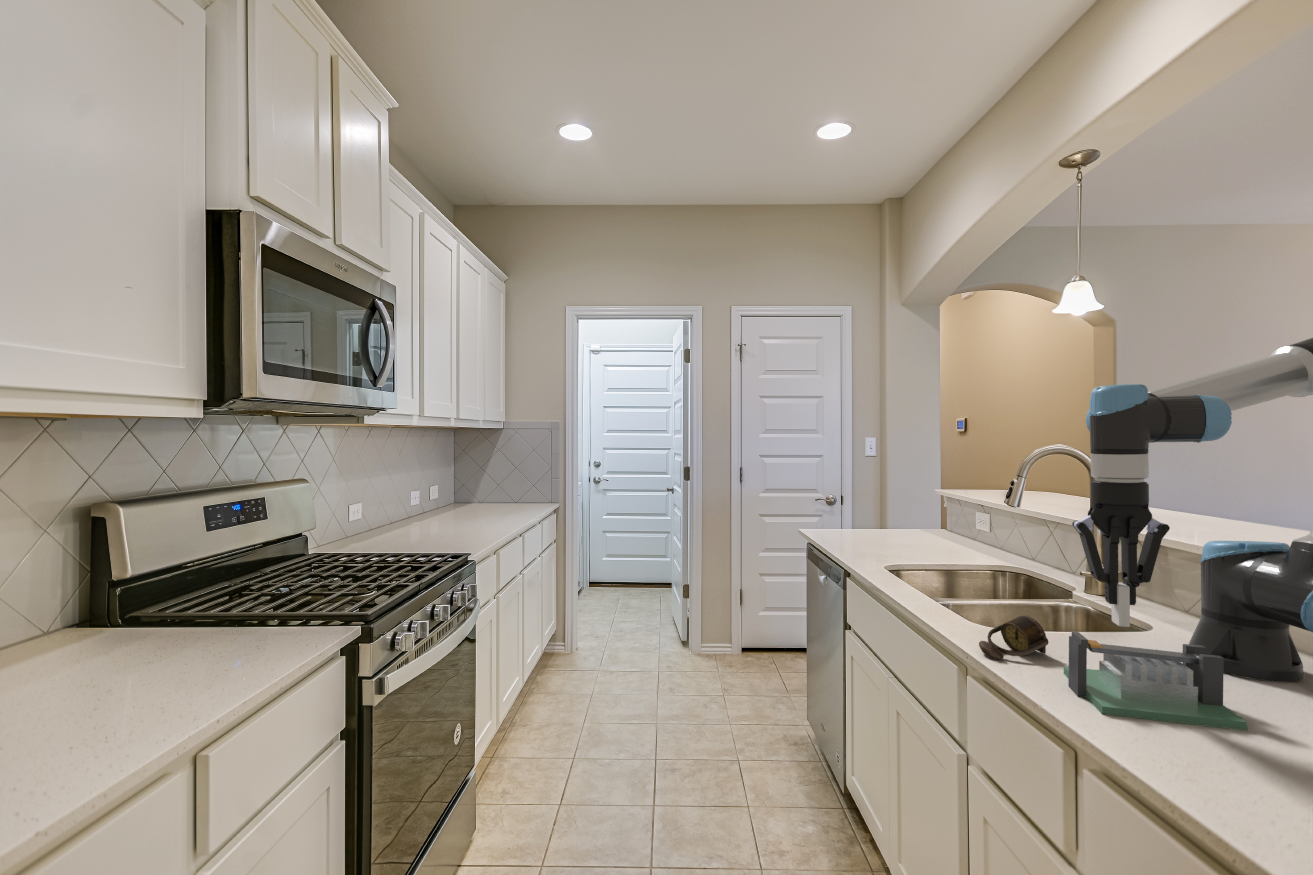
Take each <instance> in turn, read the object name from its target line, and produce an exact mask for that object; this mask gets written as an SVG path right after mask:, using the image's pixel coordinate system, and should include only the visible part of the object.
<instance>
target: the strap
mask: <svg viewBox="0 0 1313 875" xmlns="http://www.w3.org/2000/svg"><path fill="white" fill-rule="evenodd" d="M1087 650H1089V651H1090V652H1091V653H1096V654H1103V655H1104V654H1113V655H1122V656H1131V657H1140V658H1149V659H1157V660H1166V661H1175V662H1181V663H1183V662H1184V663H1193V664H1199V655H1197V654H1195V653H1192V654H1189V653H1183V652H1178V651H1171V650H1170V651H1169V650H1161V649H1153V648H1152V649H1151V648H1141V647H1133V646H1125V645H1114V644H1105V643H1099V641H1097V640H1094V639H1088V645H1087Z"/></svg>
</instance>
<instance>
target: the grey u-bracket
mask: <svg viewBox="0 0 1313 875" xmlns="http://www.w3.org/2000/svg"><path fill="white" fill-rule="evenodd" d="M1182 653H1189V654H1192V653H1195V654H1197V655H1199V664H1193V663H1184V662H1181V663H1182V664H1184V665H1185V666H1187V667H1188V668H1190V669H1191V670H1193V684H1194V685H1196V686H1197V687H1198V701H1199V702H1200V703H1202V704H1207V705H1217V706H1223V705H1224V674H1225V672H1224V658H1223V657H1221V656H1216V655H1206V648H1205V647H1204V646H1202V645H1190V644H1189V643H1187V644H1186V643H1182Z"/></svg>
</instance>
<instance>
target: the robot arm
mask: <svg viewBox="0 0 1313 875" xmlns="http://www.w3.org/2000/svg"><path fill="white" fill-rule="evenodd" d="M1312 395H1313V337H1311V338H1310V337H1309V338H1307V339H1304V340H1302V341H1298V342H1296V343H1295V342H1294V343H1292V344H1290V345H1286V346H1282V347H1279V348H1277V349H1275V350H1274V351H1273V352H1271V354H1270V355H1269V356H1267V357H1265V358H1261V359H1256V360H1254V361H1250V362H1246V363H1243V364H1239V365H1235V366H1233V367H1232V366H1231V367H1229V368H1226V369H1225V368H1224V369H1222V370H1218V371H1215V372H1212V373H1208V374H1204V375H1201V376H1197V377H1194V378H1190V379H1188V380H1184V381H1183V380H1182V381H1180V382H1176V383H1173V384H1169V385H1167V386H1166V385H1165V386H1162V387H1158V388H1155V389H1152V390H1148V387H1147V385H1145V384H1142V383H1141V384H1137V383H1136V384H1133V383H1130V384H1111V385H1110V384H1109V385H1100V386H1096V387H1094V388H1093V389H1092V390H1091V392H1090V397H1089V408H1088V409H1089V410H1087V413H1086V416H1085V424H1086V427H1087V430H1088V432H1089V439H1090V440H1089V443H1090V444H1089V447H1090V448H1089V449H1090V453H1089V454H1090V476H1091V477H1092V478H1094V480H1092V481H1091V482H1090V508H1089V510H1088V511H1087V516H1085V517H1083V518H1081V519H1080V520H1073V521H1072V523H1071V525H1072V526H1073V528H1074V530H1075V531H1076V532H1077V533H1078V535H1079V538H1080V542H1081V545H1082V548H1083V551H1084V556H1085V559H1086V561H1087V565H1088V568H1089V572H1090V575H1091V577H1093V578H1094V579H1096V580H1098V581H1101V582H1103V583H1104V599H1105V600H1104V601H1106V603H1108V604H1109V605H1111V622H1112V623H1114V624H1115V625H1117V626H1118V627H1123V628H1124V627H1125V628H1130V627H1131V611H1130V610H1131V606H1135V605H1136V604H1137V588H1138V587H1140V584H1145V583H1150V582H1151V580H1152V576H1153V573H1154V568H1155V565H1156V562H1157V558H1158V555H1159V551H1160V547H1161V546H1162V545H1161V544H1162V540H1163V538H1164V537H1165V536H1166V535H1167V533H1168V532H1169V530H1170V526H1169V524H1167V523H1164V522H1160V521H1158V520H1157V519H1155V518H1153V514H1152V512H1151V510H1150V508H1149V503H1150V499H1149V498H1150V487H1149V486H1150V485H1149V483H1148V482H1147V481H1145V480H1147V479H1149V477H1150V471H1149V466H1150V464H1149V448H1150V446H1149V445H1150V444H1151V443H1198V444H1199V443H1201V442H1214V441H1217V440H1220V439H1221V438H1222V437H1225V435H1226V434H1227V433H1228V432H1229V430H1230V428H1231V425H1232V423H1233V422H1232V421H1233V420H1232V419H1233V418H1232V416H1233V413H1232V412H1233V411H1237V410H1239V409H1243V408H1247V407H1251V406H1254V405H1259V404H1262V403H1266V402H1269V401H1273V400H1277V399H1280V398H1283V397H1286V396H1288V397H1291V398H1305V397H1309V396H1312ZM1093 525H1094V526H1095V527H1096V528H1097V529H1098V530H1099V532H1100V533H1101V541H1102V549H1103V550H1102V554H1103V556H1102V560H1101V557H1100V554H1099V550H1098V546H1097V543H1096V539H1095V537H1094V534H1093V533H1092V531H1093V530H1094V527H1093ZM1145 528H1146V531H1147V532H1146V533H1145V536H1144V540H1143V543H1142V545H1141V546H1142V547H1141V550H1140V554H1139V557H1138V545H1139V535H1140V533H1141V532H1142V531H1144V529H1145ZM1119 544H1120V546H1121V549H1120V550H1121V552H1120V554H1121V555H1120V556H1121V557H1120V558H1121V580H1122V582H1119ZM1102 562H1103V563H1102ZM1200 594H1201V595H1200V602H1201V603H1200V605H1201V606H1200V607H1201V608H1200V609H1201V610H1200V619H1199V621H1198V623H1197V625H1196V628H1195V630H1194V632H1193V634H1192V635H1191V637H1190V640H1189V642H1188V644H1190V645H1202V646H1204V647H1205V648H1206V655H1216V656H1221V657H1223V658H1224V674H1229V675H1233V676H1237V677H1241V678H1245V679H1246V678H1247V679H1253V680H1259V681H1266V682H1267V681H1268V682H1276V683H1292V682H1293V683H1294V682H1300V681H1301V680H1303V679H1304V664H1303V662H1302V659H1301V656H1300V654H1299V652H1298V650H1297V647H1296V644H1295V642H1294V639H1293V637H1292V635H1291V632H1290V626H1292V627H1295V628H1298V629H1300V630H1301V629H1302V630H1304V631H1308V632H1311V633H1312V634H1313V526H1312V527H1311V529H1310V532H1309V534H1307V535H1305V536H1302V537H1298V538H1295V539H1293V540H1292V541H1291V544H1287V543H1284V542H1278V541H1277V542H1276V541H1258V540H1257V541H1255V540H1254V541H1253V540H1252V541H1251V540H1250V541H1249V540H1211V541H1208V542H1206V543H1205V544H1203V545H1202V553H1201V559H1200Z"/></svg>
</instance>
